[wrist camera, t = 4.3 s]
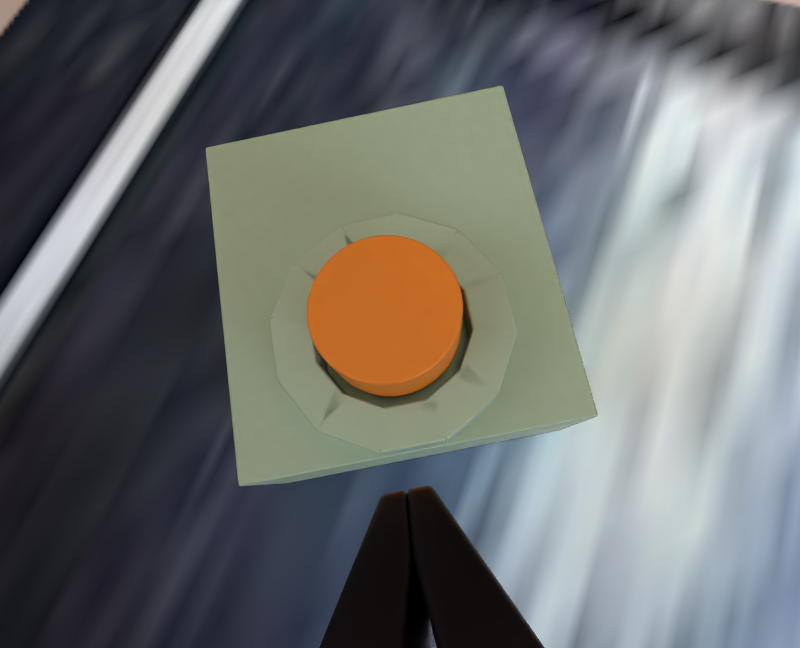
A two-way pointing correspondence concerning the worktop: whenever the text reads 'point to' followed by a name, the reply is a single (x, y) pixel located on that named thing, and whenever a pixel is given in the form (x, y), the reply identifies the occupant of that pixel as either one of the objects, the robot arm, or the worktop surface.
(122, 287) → the worktop surface
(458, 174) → the button base
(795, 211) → the worktop surface
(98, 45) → the worktop surface
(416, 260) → the button
